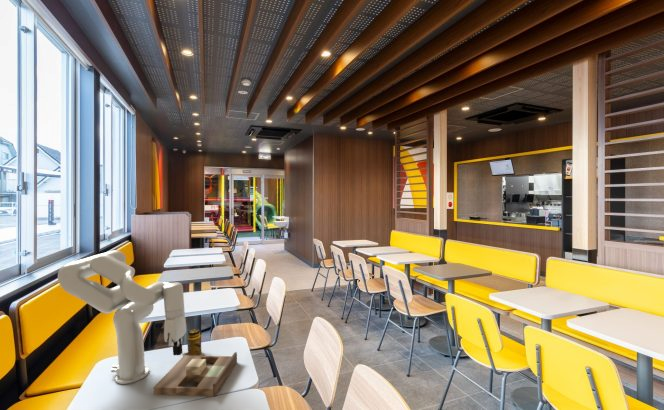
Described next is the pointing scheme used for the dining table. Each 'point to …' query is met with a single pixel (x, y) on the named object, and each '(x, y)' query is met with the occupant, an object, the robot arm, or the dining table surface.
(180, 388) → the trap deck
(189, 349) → the condiment
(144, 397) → the dining table surface
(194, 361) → the maple block
